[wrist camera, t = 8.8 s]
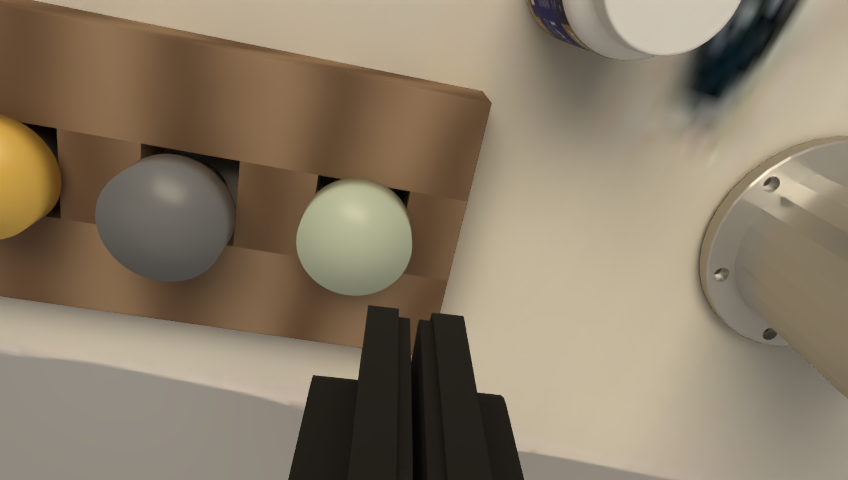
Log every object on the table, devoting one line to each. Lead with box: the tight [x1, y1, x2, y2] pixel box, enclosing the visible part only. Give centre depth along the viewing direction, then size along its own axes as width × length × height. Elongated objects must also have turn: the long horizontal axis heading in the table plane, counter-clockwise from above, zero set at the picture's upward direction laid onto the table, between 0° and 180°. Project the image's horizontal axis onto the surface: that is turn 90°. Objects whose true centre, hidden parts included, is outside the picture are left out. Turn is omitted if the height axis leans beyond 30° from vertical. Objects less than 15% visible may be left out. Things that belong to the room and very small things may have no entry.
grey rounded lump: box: [95, 154, 236, 282], centre depth 26 cm, size 5×5×5 cm
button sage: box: [296, 178, 412, 296], centre depth 28 cm, size 5×5×5 cm
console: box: [0, 0, 492, 355], centre depth 29 cm, size 26×14×3 cm, turn 78°
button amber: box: [0, 114, 61, 239], centre depth 27 cm, size 5×5×5 cm
